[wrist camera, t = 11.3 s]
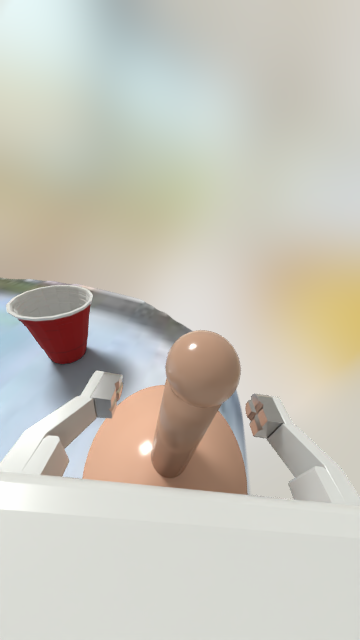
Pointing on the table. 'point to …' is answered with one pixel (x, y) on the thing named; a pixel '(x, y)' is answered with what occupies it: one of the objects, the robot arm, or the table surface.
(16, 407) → the table surface
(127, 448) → the lid
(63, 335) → the plastic cup
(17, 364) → the table surface
